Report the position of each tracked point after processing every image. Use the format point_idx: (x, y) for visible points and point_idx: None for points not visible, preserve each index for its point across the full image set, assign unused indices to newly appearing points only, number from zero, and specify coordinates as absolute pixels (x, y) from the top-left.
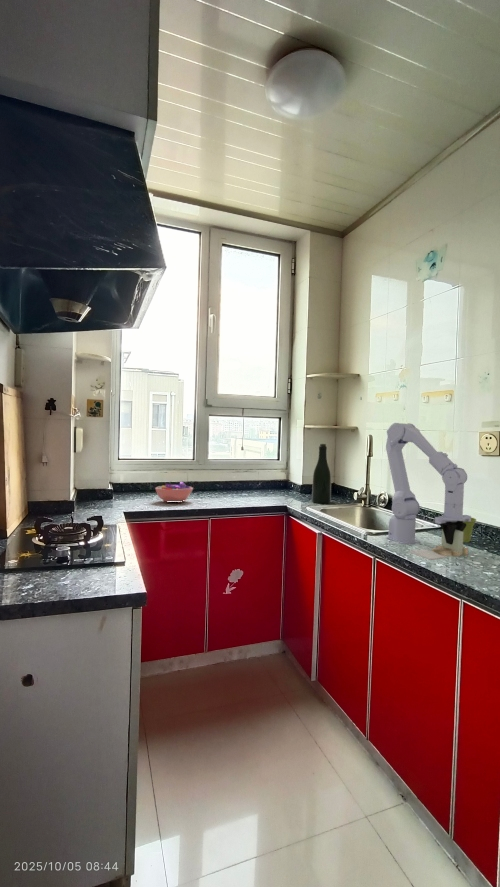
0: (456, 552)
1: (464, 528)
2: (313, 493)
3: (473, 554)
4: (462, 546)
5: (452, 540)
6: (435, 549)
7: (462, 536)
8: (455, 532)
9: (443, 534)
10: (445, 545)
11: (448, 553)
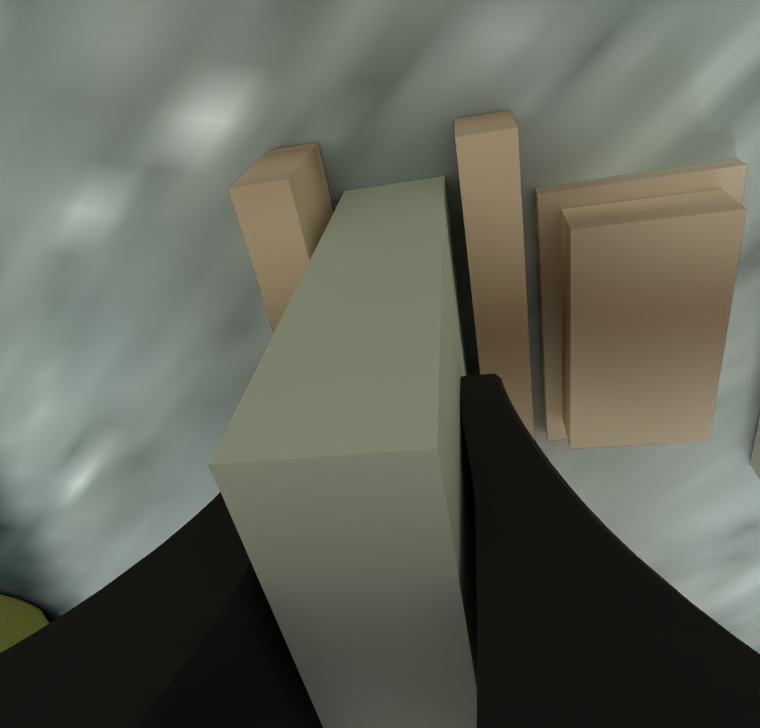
0: (517, 160)
1: (41, 628)
2: None
3: (123, 210)
4: (326, 246)
5: (486, 408)
6: (710, 397)
7: (290, 361)
8: (454, 527)
9: None
10: None
11: (640, 207)
